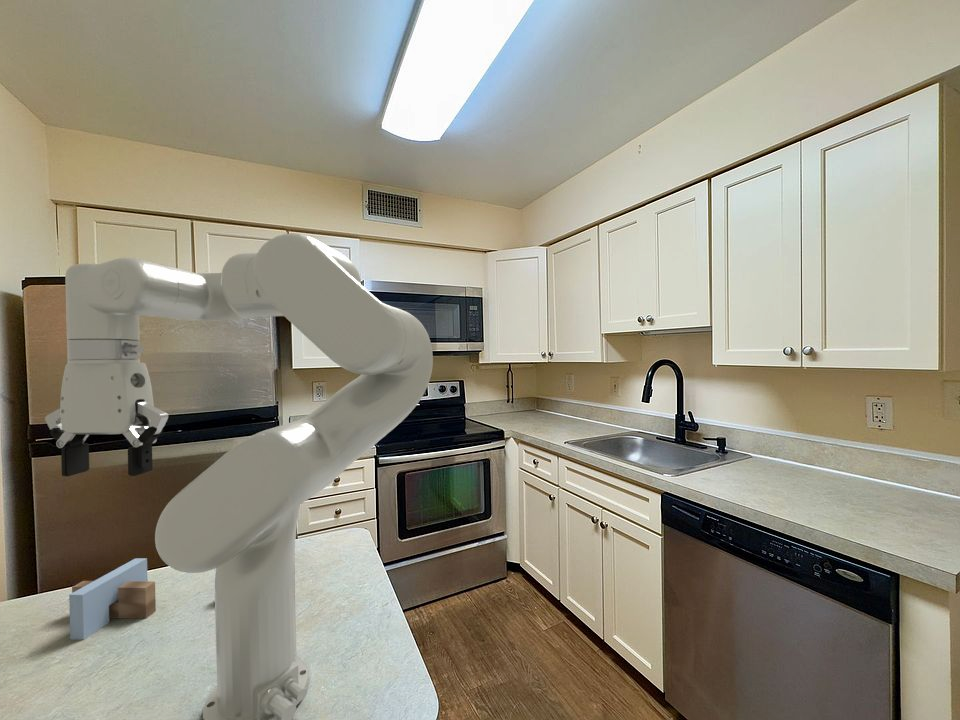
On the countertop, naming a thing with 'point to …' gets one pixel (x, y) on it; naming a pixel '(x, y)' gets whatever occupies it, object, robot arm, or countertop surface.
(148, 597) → the walnut slot plate
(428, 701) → the countertop surface
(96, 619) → the blue slot plate
